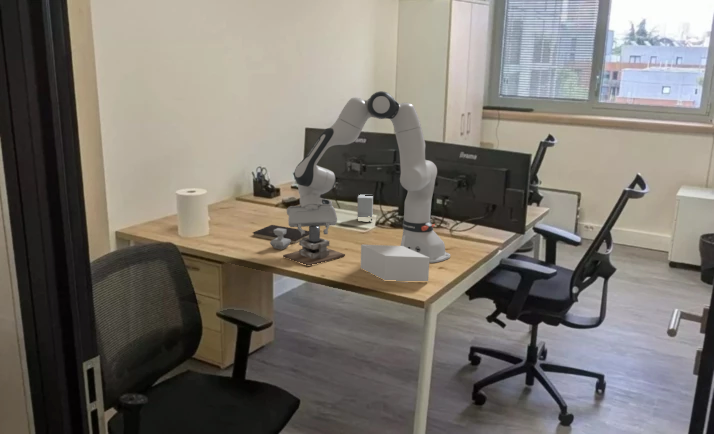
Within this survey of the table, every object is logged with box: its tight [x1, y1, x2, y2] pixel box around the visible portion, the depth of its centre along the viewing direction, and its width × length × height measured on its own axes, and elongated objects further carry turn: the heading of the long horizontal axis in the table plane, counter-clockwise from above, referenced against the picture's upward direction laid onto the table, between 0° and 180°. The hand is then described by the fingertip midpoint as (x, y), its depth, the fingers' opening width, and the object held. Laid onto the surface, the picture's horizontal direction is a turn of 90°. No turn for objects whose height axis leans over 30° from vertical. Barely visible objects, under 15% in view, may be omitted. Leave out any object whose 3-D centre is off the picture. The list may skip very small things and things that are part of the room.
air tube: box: [308, 225, 321, 253], centre depth 272 cm, size 5×5×12 cm
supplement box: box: [357, 194, 374, 218], centre depth 329 cm, size 7×7×13 cm
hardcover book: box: [252, 224, 309, 244], centre depth 302 cm, size 16×23×2 cm
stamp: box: [269, 228, 292, 250], centre depth 283 cm, size 9×7×8 cm
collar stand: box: [282, 237, 346, 265], centre depth 273 cm, size 16×20×7 cm
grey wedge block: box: [360, 244, 430, 282], centre depth 252 cm, size 14×29×10 cm, turn 60°
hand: (314, 234), depth 271 cm, fingers open, 8 cm apart
